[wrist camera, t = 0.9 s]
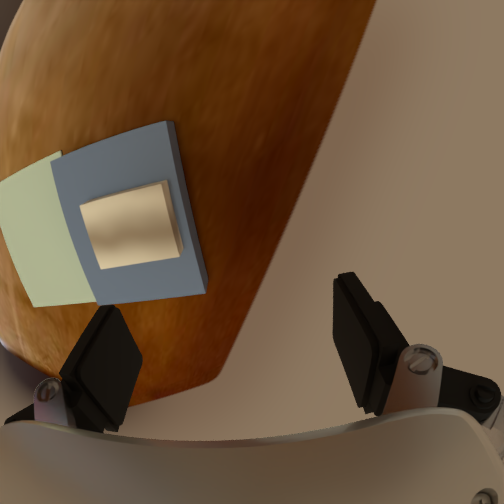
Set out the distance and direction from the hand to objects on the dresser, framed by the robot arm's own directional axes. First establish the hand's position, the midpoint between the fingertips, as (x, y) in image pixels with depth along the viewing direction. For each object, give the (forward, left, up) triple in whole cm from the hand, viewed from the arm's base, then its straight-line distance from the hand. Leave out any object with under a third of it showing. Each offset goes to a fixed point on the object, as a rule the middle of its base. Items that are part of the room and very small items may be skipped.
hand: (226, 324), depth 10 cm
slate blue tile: (0, -12, -20) cm, 23 cm away
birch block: (0, -10, -17) cm, 20 cm away
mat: (0, -27, -20) cm, 34 cm away
